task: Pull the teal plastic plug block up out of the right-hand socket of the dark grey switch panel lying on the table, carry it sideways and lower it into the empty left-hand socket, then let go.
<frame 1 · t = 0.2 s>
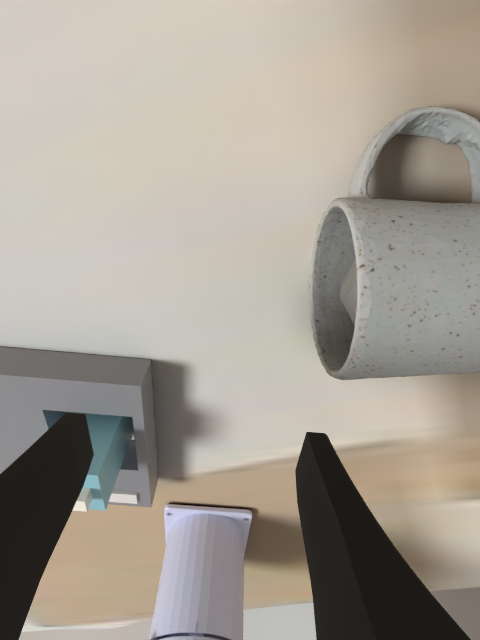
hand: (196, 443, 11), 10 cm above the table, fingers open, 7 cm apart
ceramic mug: (385, 232, 18), on the table
panel: (40, 417, 25), on the table
plug: (107, 413, 25), resting in panel
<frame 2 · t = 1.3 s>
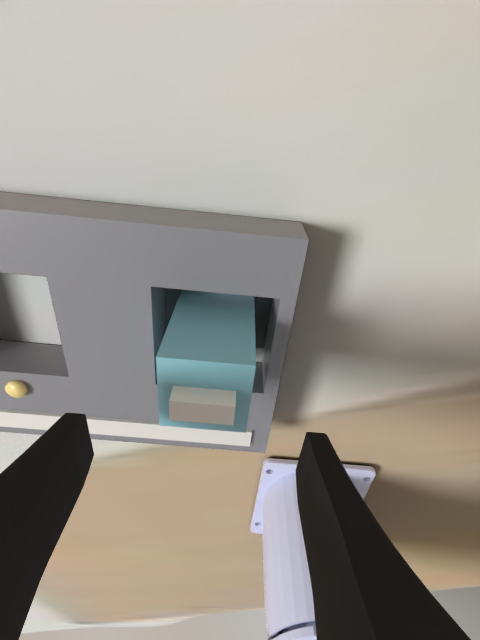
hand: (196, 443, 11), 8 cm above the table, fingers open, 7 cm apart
panel: (124, 324, 19), on the table
plug: (217, 317, 18), resting in panel
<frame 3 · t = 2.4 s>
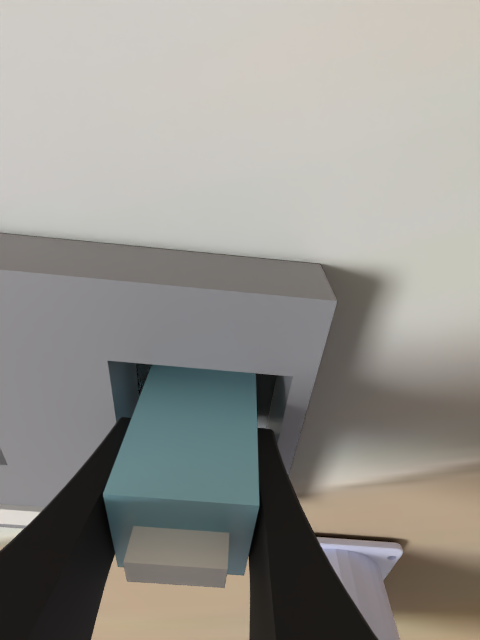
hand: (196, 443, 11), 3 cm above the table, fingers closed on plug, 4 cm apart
panel: (85, 389, 14), on the table
plug: (206, 381, 14), resting in panel, touching gripper
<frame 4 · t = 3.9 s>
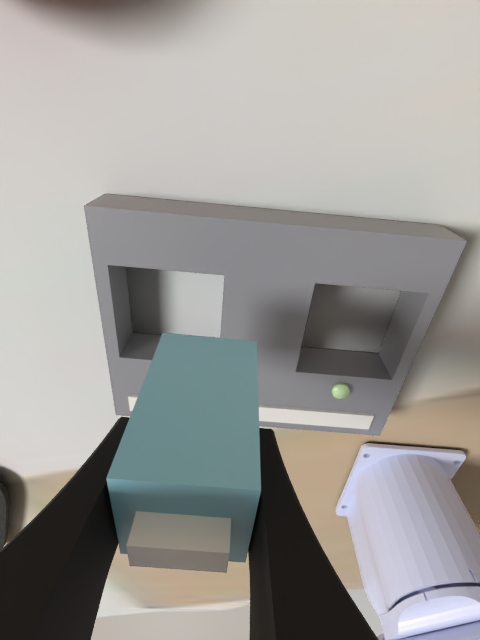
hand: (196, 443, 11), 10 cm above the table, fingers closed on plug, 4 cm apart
panel: (259, 319, 21), on the table
plug: (207, 372, 14), point 7 cm above the table, touching gripper
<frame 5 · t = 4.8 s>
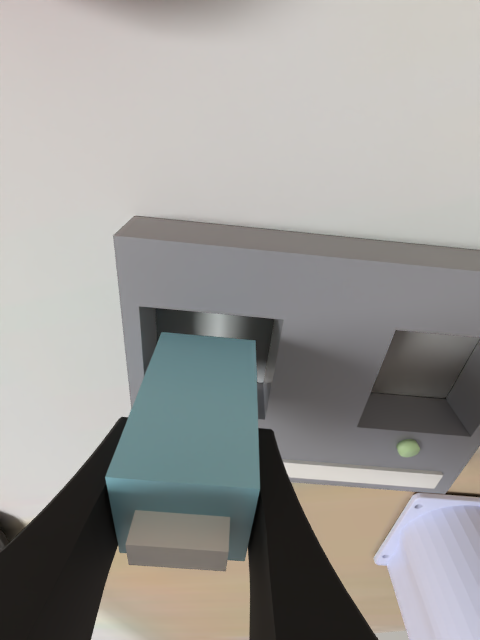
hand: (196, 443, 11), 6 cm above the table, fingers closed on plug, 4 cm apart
panel: (310, 360, 17), on the table
plug: (206, 372, 14), point 3 cm above the table, touching gripper
when the fingers open (4 cm above the table, at t = 5.6 s): plug stays where it is, resting in panel.
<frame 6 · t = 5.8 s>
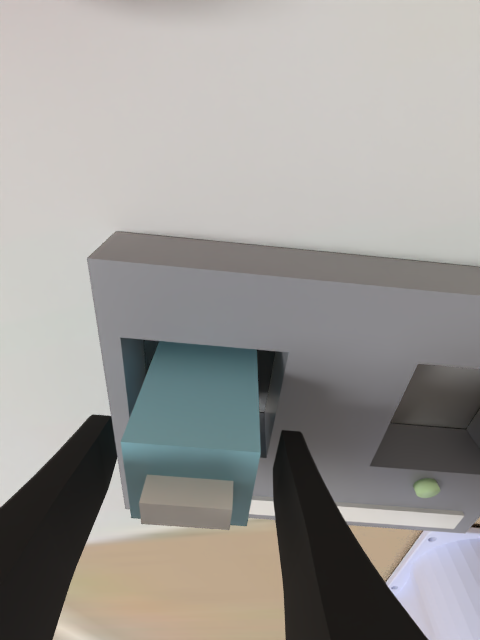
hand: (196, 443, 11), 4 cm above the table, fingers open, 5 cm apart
panel: (317, 389, 16), on the table
plug: (210, 357, 15), resting in panel
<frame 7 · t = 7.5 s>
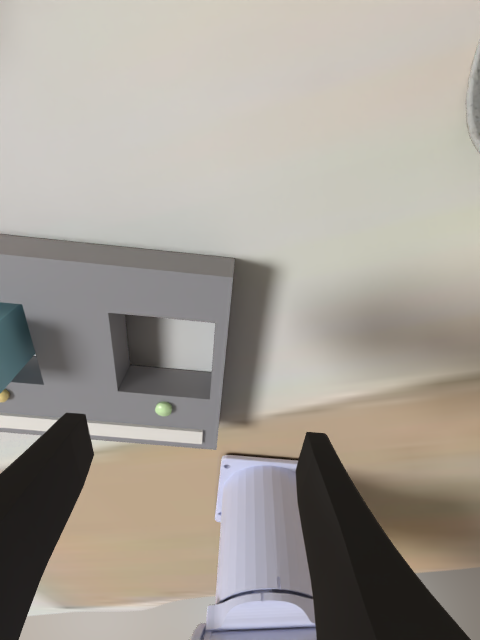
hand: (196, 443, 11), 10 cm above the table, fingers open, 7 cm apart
panel: (93, 340, 22), on the table
plug: (9, 315, 21), resting in panel
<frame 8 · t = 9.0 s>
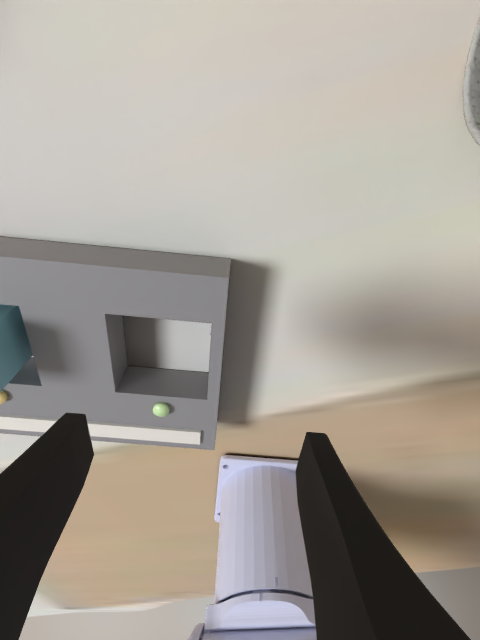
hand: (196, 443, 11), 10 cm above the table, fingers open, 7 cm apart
panel: (90, 341, 22), on the table
plug: (7, 317, 21), resting in panel
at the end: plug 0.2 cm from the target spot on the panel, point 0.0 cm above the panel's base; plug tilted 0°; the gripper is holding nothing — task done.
